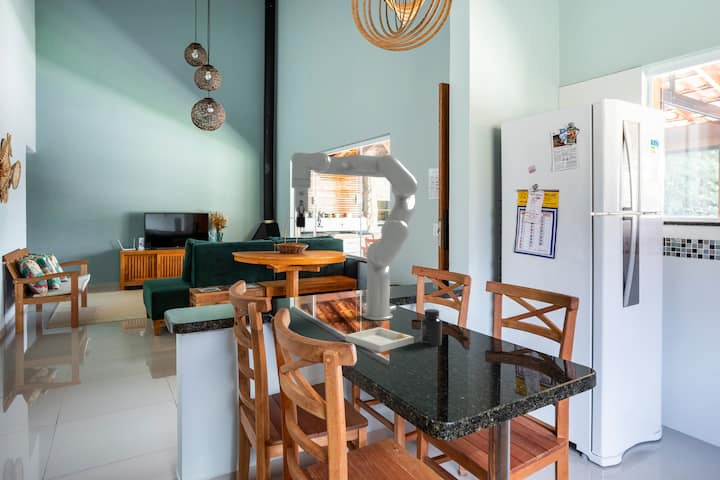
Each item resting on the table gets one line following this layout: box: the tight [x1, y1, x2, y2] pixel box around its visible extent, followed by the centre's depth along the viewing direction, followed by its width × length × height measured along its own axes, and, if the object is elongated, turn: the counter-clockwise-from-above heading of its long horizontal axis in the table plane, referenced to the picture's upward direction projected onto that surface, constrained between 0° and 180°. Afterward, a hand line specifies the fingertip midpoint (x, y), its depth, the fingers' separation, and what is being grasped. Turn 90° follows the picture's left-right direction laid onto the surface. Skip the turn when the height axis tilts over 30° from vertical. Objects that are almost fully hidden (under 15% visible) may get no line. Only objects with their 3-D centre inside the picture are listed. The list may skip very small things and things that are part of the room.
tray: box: [345, 326, 415, 353], centre depth 150 cm, size 16×16×3 cm
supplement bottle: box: [420, 308, 443, 347], centre depth 150 cm, size 7×7×12 cm
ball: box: [397, 332, 406, 340], centre depth 150 cm, size 3×3×3 cm
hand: (300, 226), depth 182 cm, fingers open, 9 cm apart
